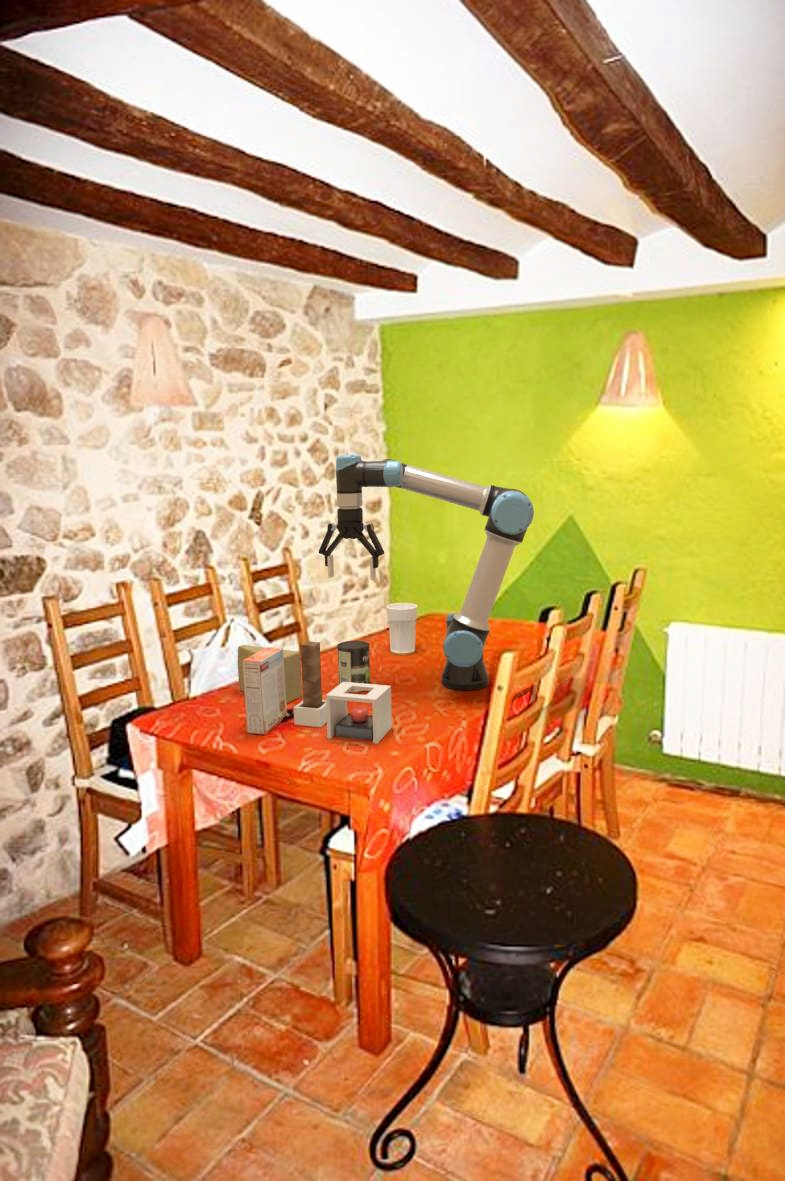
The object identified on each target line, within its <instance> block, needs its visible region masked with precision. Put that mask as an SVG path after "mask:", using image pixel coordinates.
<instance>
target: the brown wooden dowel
mask: <svg viewBox="0 0 785 1181" xmlns="http://www.w3.org/2000/svg"><path fill="white" fill-rule="evenodd" d="M300 661H301V684H302V701H303V707H307V708H320V707H321V706H322V700H323V693H322V692H323V689H322V688H323V687H322V666H321V665H322V661H321V642H320V641H319V642H318V641H307V640H306V641H305V642H303V643H302V644H300Z"/></svg>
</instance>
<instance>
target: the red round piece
mask: <svg viewBox="0 0 785 1181" xmlns="http://www.w3.org/2000/svg"><path fill="white" fill-rule="evenodd" d="M350 714H351V720H352V721H356V722H358V723H364V722H363V721H366V720H368V715H369V709H368V708H367V707H365V706H357V707H356V706H355V707H353V708H351V709H350Z"/></svg>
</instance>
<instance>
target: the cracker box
mask: <svg viewBox="0 0 785 1181" xmlns="http://www.w3.org/2000/svg"><path fill="white" fill-rule="evenodd" d="M263 648H264V649H262V650H260V651H259V652H257V653H255V654H253V655H252V656H250V657H248V658H246V659H244V660H243V661H242V666H243V679H244V692H243V693H244V704H245V717H246V718H245V719H246V721H245V722H246V732H247V734H253V735H262V736H263V735H264V736H266V735H267V734H268V733H269V732H271V731H272V730H273V729H274V728H276V727H277V726H278V725H280V724H281V723H282V722H283V721H282V720H283V718H284V717H285V716H286V715H287V716H288V709H287V708H288V707H287V703H286V689H285V672H284V656H283V650H284V648H281V647H271V646H266V647H263ZM281 721H282V722H281Z"/></svg>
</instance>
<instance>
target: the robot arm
mask: <svg viewBox="0 0 785 1181" xmlns="http://www.w3.org/2000/svg"><path fill="white" fill-rule="evenodd" d="M335 460H336V462H335V463H336V464H335V481H336V483H335V484H336V485H335V486H336V506H337V509H336V511H337V524H336V523H333V522H331V523H328V524H327V527H326V529H327V530H326V533H325V535H324V538H323V539H322V543H321V545H320V547H319V549H318V554H320V555H323V556H324V566H325V567H327V578H328V579H331V578H334V576H335V570H334V569H335V566H334V565H335V564H334V555H333V554H332V553H333V552H334V551H335V549H336V548H337V546H338V545H339V544H340V543H341V542H342V540H343V539H344V540H348V539H351V540H355V539H357V540H358V541H359V542H360V543H361V544H362V546H363V547H364V548H365V550H366V551H368V553H369V555H371V557H369V571H370V572H369V573H370V575H369V576H370V577H369V578H370V581H371V580H375V579H377V573H376V572H377V570H376V569H377V568H379V557H380V556H383V555H384V554H385V551H384V549H383V547H382V544H381V542H380V540H379V538H378V536H377V534H376V532H375V529H374V524H373V523H369V524H364V522H363V521H364V513H363V512H364V511H363V508H362V506H363V488H393V487H394V488H397V489H402V490H406V491H409V492H413V493H415V494H419V495H422V496H427V497H431V498H434V499H437V500H440V501H444V502H447V503H451V504H454V505H457V506H460V507H465V508H467V509H471V510H474V511H478V512H479V514H480V515H481V516H484V517H487V521H486V523H485V526H484V531H485V532H484V533H485V536H486V540H485V542H484V545H483V547H482V551H481V553H480V556H479V559H478V562H477V565H476V566H475V570H474V572H473V576H472V578H471V581H470V583H469V587H468V589H467V593H466V595H465V598H464V600H463V603H462V606H461V609H460V611H459V612H451V613H449V614H447V616H446V621H445V624H446V634H445V638H444V641H443V644H442V650H443V653H444V656H445V658H446V661H445V664H444V668H443V671H442V673H441V678H440V679H441V685H442V686H443V687H445V688H447V689H452V690H457V691H473V690H480V689H485V688H486V687H487V686H488V685H490V684H489V683H490V682H489V679H490V677H489V674H488V671H487V667H486V664H485V661H484V649H485V644H486V642H487V640H488V639H487V638H488V636H489V634H490V631H491V626H490V624H489V618H490V615H491V613H492V610H493V607H494V606H495V602H496V599H497V596H498V594H499V591H500V589H501V586H502V583H503V580H504V577H505V576H506V572H507V570H508V566H509V564H510V562H511V559H512V556H513V552H514V550H515V548H516V547H517V546H518V545H520V544H522V543H523V541H524V538H525V537H526V533H527V531H528V528H529V527H530V525H531V524H532V522H533V520H534V514H535V511H534V505H533V503H532V500H530V498H529V497H528V496H527V494H525V493H524V492H523V491H521V490H520V489H516V488H508V487H507V488H506V487H501V486H496V485H492V484H489V485H487V486H484V485H481V484H477V483H473V482H469V481H466V480H463V479H459V478H456V477H452V476H449V475H445V474H441V473H438V472H436V471H431V470H428V469H424V468H420V467H417V466H413V465H410V464H406V463H402V462H401V461H400V460H399V461H398V460H395V459H391V458H385V459H383V460H373V461H365V460H363V459H362V456H361V455H360V454H339V455H338V456H336V458H335ZM336 530H337V531H338V534H337V536H336V537H335V538H334V539H333V541H332V542H331V544H330V541H331V539H332V537H333V534H334V533H335V531H336ZM364 530H365V532H366V533H367V534H368V537H369V539H370V541H371V543H372V544H371V543H370V541H369V540H368V539H367V537H366V535H365V534H364V533H363V531H364ZM329 544H330V545H329Z"/></svg>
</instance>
